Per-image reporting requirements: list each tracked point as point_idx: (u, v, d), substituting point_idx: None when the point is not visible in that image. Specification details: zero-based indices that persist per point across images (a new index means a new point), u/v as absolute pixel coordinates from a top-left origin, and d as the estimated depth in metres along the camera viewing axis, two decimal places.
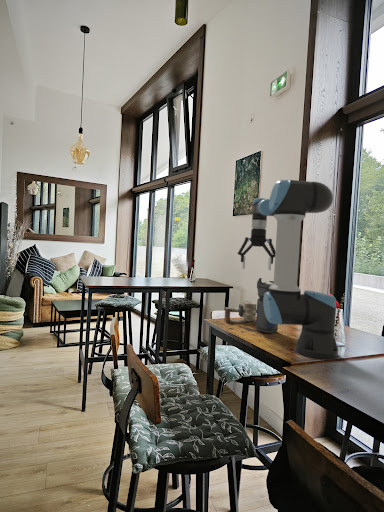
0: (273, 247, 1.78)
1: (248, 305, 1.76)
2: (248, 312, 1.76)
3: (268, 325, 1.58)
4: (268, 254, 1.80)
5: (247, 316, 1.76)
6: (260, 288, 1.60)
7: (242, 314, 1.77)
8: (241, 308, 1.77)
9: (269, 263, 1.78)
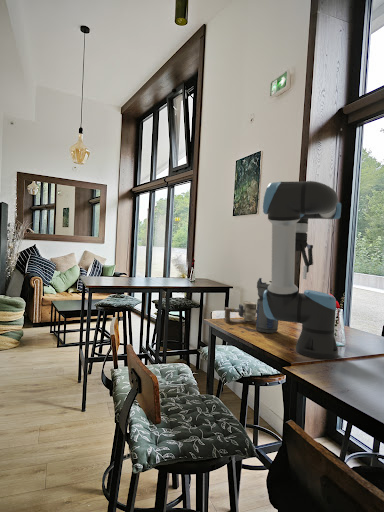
0: None
1: (248, 305, 1.76)
2: (248, 312, 1.76)
3: (268, 325, 1.58)
4: (304, 261, 1.72)
5: (247, 316, 1.76)
6: (260, 288, 1.60)
7: (242, 314, 1.77)
8: (241, 308, 1.77)
9: (304, 272, 1.70)
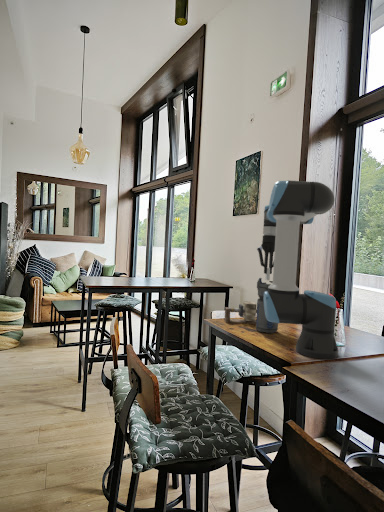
0: None
1: (248, 305, 1.76)
2: (248, 312, 1.76)
3: (268, 325, 1.58)
4: (269, 263, 1.81)
5: (247, 316, 1.76)
6: (260, 288, 1.60)
7: (242, 314, 1.77)
8: (241, 308, 1.77)
9: None
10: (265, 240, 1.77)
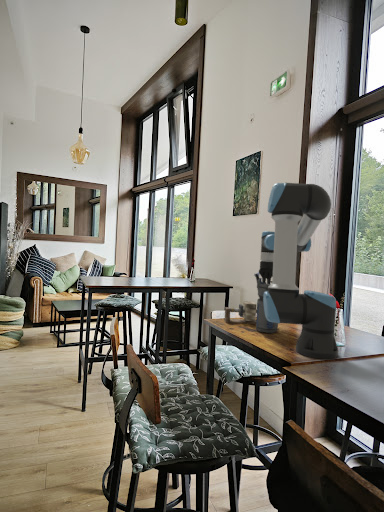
0: None
1: (248, 305, 1.76)
2: (248, 312, 1.76)
3: (268, 325, 1.58)
4: None
5: (247, 316, 1.76)
6: (260, 288, 1.60)
7: (242, 314, 1.77)
8: (241, 308, 1.77)
9: None
10: (262, 266, 1.77)
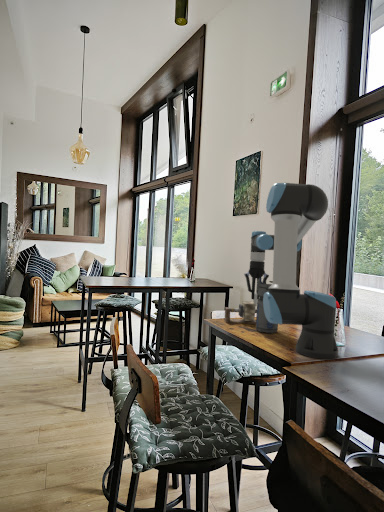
0: None
1: (247, 305, 1.76)
2: (247, 312, 1.76)
3: (268, 325, 1.58)
4: None
5: (246, 316, 1.76)
6: (260, 288, 1.60)
7: (242, 314, 1.77)
8: (241, 308, 1.77)
9: None
10: (252, 266, 1.77)
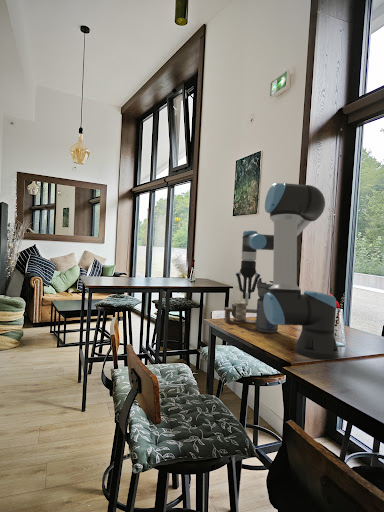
0: (256, 283, 1.79)
1: (238, 305, 1.75)
2: (238, 312, 1.76)
3: (268, 325, 1.58)
4: None
5: (237, 316, 1.76)
6: (260, 288, 1.60)
7: (235, 314, 1.77)
8: (234, 308, 1.77)
9: None
10: (243, 266, 1.77)
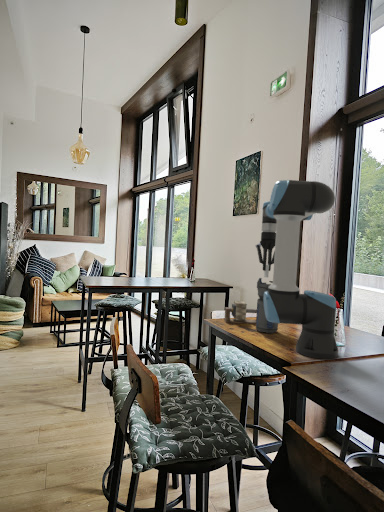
0: None
1: (238, 305, 1.75)
2: (238, 312, 1.76)
3: (268, 325, 1.58)
4: None
5: (237, 316, 1.76)
6: (260, 288, 1.60)
7: (235, 314, 1.77)
8: (234, 308, 1.77)
9: None
10: (264, 237, 1.76)
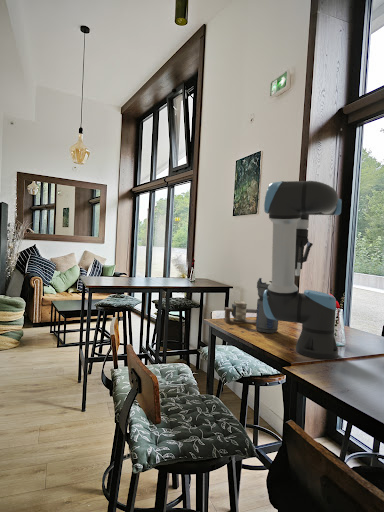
0: (308, 252, 1.71)
1: (238, 305, 1.75)
2: (238, 312, 1.76)
3: (268, 325, 1.58)
4: (299, 258, 1.73)
5: (237, 316, 1.76)
6: (260, 288, 1.60)
7: (235, 314, 1.77)
8: (234, 308, 1.77)
9: None
10: (296, 234, 1.70)
